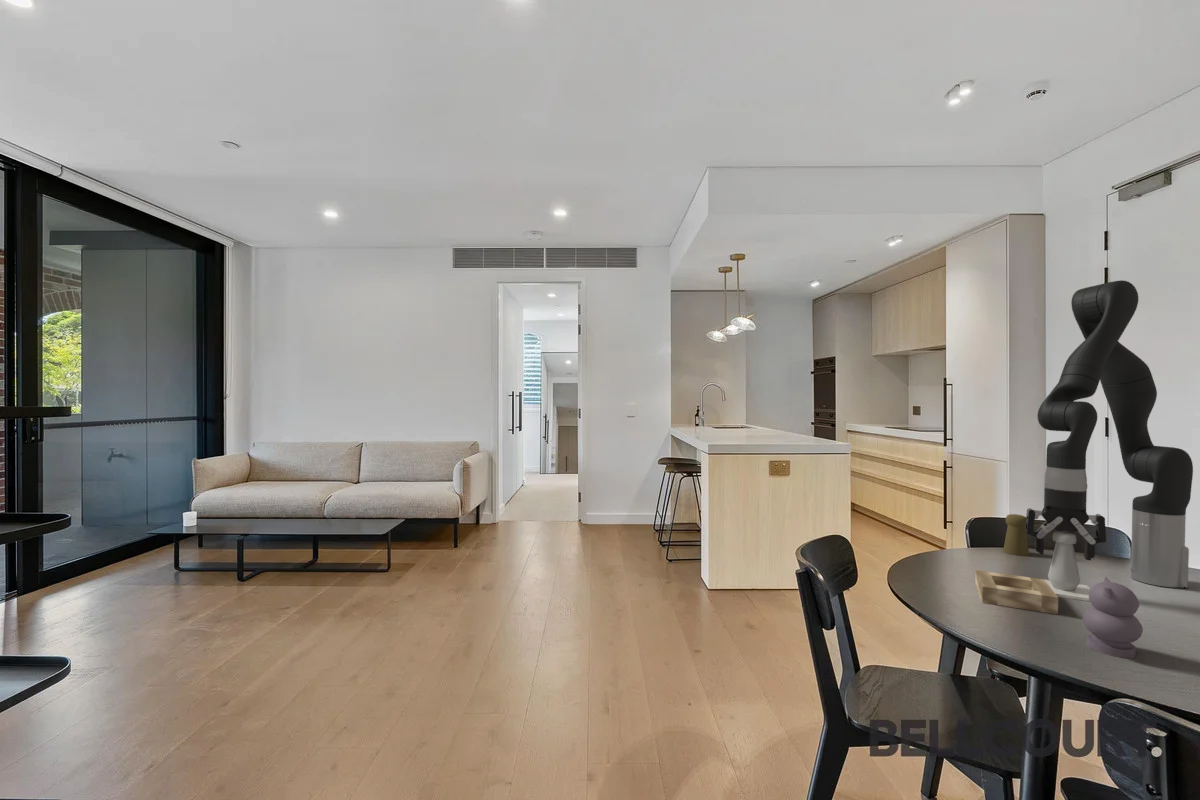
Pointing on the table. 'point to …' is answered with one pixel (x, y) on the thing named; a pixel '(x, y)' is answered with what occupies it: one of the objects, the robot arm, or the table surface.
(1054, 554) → the salt shaker
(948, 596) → the table surface
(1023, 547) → the cork
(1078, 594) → the grey tile
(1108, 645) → the stacked rounded figure
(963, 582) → the table surface
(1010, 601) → the socket block
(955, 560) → the table surface
